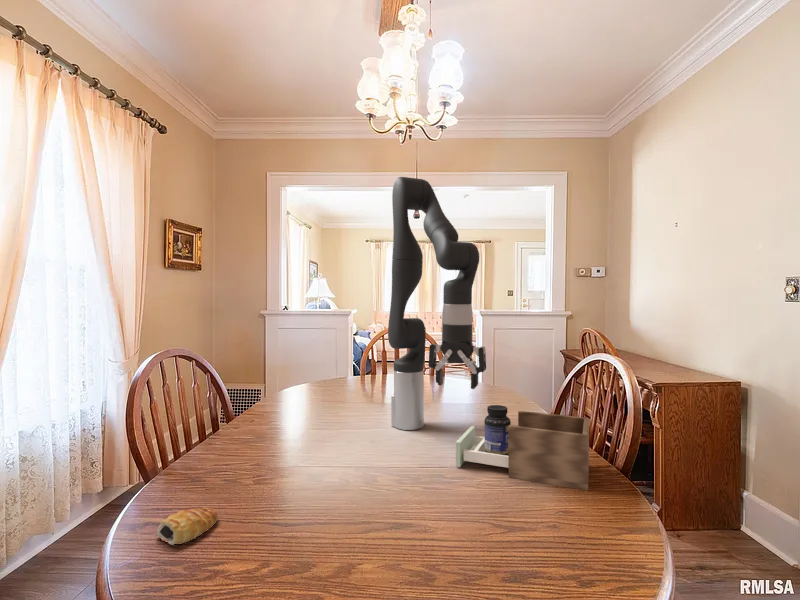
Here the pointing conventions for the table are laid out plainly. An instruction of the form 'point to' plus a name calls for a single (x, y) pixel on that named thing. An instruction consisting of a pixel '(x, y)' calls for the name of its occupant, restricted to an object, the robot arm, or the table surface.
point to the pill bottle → (496, 430)
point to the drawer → (476, 451)
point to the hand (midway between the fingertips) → (456, 386)
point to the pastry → (187, 524)
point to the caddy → (550, 449)
